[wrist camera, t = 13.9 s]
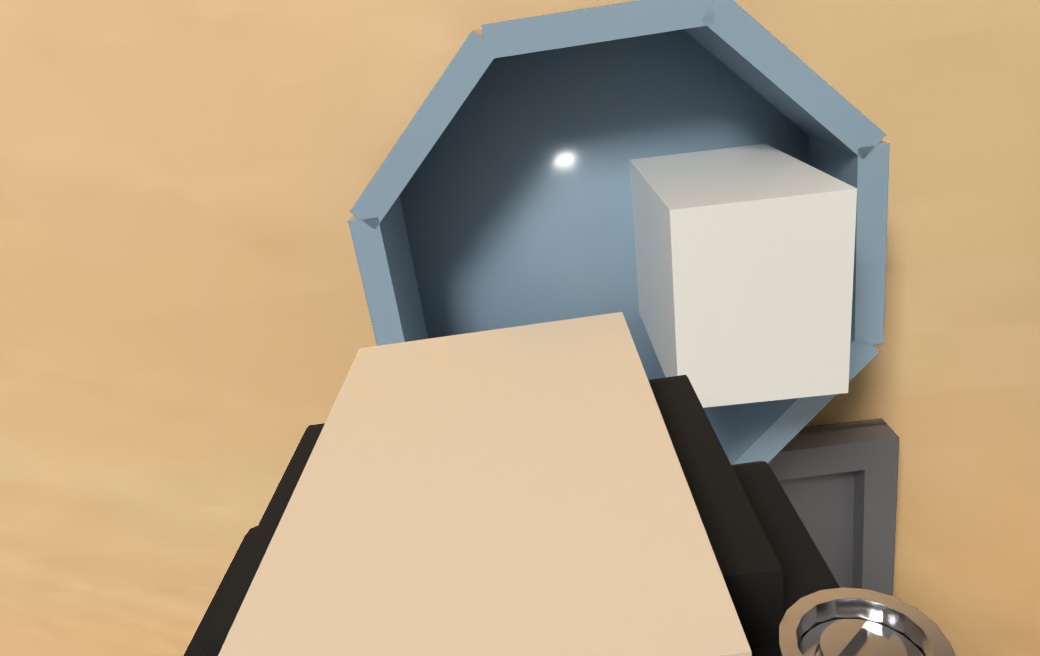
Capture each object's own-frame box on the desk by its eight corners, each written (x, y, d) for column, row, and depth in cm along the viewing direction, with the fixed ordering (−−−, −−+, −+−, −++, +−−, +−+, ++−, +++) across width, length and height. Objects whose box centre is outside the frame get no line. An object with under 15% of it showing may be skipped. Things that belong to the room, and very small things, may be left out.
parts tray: (881, 418, 24) (899, 437, 23) (871, 740, 29) (885, 768, 28) (384, 480, 25) (378, 501, 24) (458, 782, 30) (456, 811, 29)
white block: (764, 143, 20) (856, 188, 15) (765, 299, 22) (848, 393, 16) (628, 159, 21) (669, 210, 15) (639, 312, 22) (678, 410, 17)
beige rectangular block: (622, 311, 10) (751, 651, 5) (649, 573, 12) (768, 1054, 6) (359, 348, 11) (190, 718, 5) (421, 602, 12) (345, 1095, 7)
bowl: (824, -28, 20) (895, -40, 16) (824, 403, 24) (879, 472, 20) (347, 46, 20) (309, 51, 17) (434, 452, 25) (419, 528, 21)
